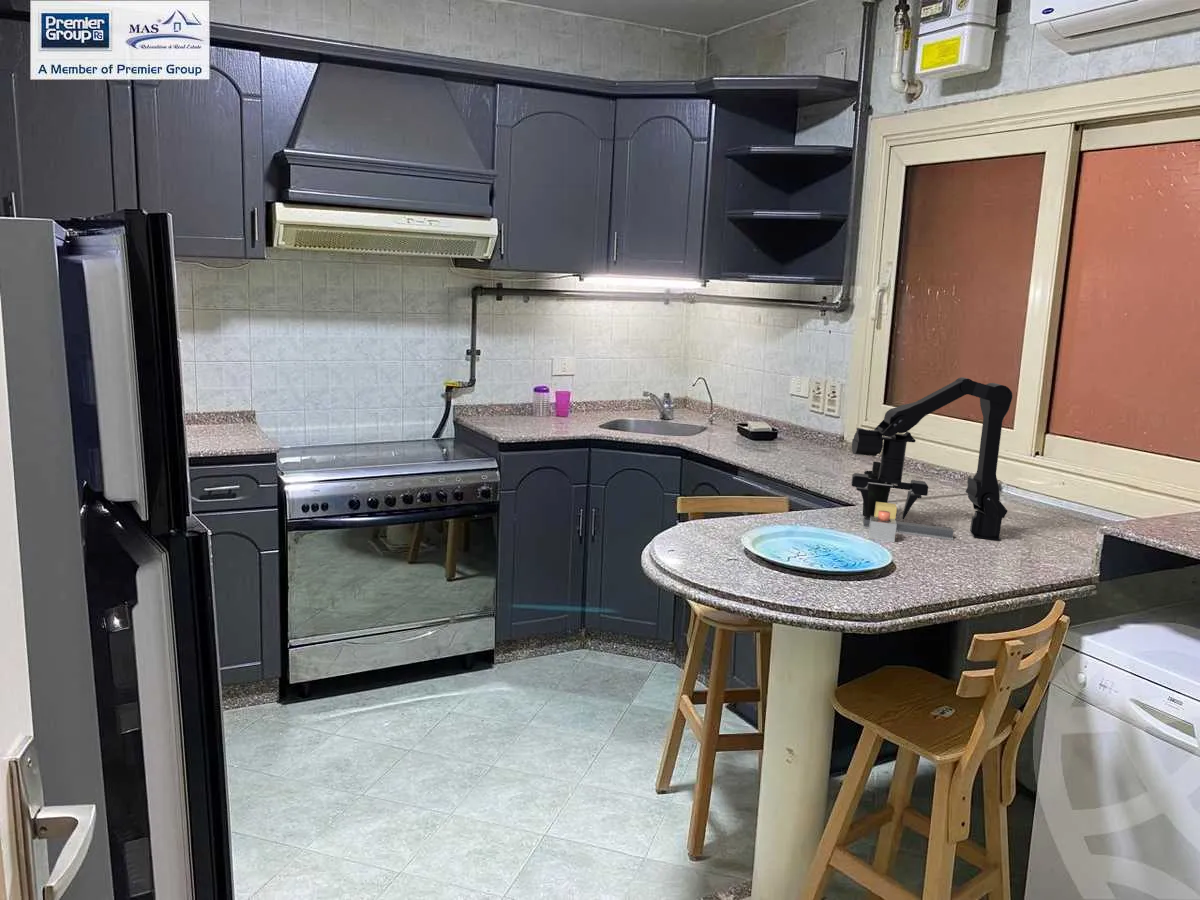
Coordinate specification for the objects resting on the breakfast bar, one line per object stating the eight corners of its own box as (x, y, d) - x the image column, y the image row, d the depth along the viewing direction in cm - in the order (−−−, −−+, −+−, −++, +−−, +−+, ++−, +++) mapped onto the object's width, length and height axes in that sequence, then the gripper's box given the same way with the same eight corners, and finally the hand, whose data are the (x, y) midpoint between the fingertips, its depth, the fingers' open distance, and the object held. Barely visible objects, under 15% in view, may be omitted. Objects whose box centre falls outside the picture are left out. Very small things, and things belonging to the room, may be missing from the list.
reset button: (889, 519, 234) (890, 511, 234) (889, 521, 231) (890, 513, 231) (877, 517, 235) (878, 510, 234) (877, 520, 232) (879, 512, 232)
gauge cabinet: (892, 536, 236) (895, 519, 235) (894, 542, 230) (896, 524, 229) (868, 533, 237) (870, 515, 236) (869, 538, 232) (871, 521, 231)
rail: (950, 534, 243) (951, 527, 243) (952, 540, 237) (954, 532, 237) (862, 522, 248) (863, 515, 248) (863, 528, 242) (864, 520, 242)
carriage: (892, 523, 246) (895, 503, 245) (894, 528, 241) (896, 508, 240) (873, 521, 247) (875, 501, 246) (873, 525, 242) (876, 505, 241)
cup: (881, 521, 252) (887, 477, 250) (854, 515, 256) (859, 472, 254) (891, 517, 258) (897, 474, 256) (865, 511, 262) (870, 469, 260)
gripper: (927, 457, 246) (919, 514, 249) (854, 448, 251) (847, 505, 253) (932, 464, 236) (923, 524, 238) (855, 455, 240) (848, 514, 243)
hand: (884, 516), depth 244 cm, fingers open, 9 cm apart
